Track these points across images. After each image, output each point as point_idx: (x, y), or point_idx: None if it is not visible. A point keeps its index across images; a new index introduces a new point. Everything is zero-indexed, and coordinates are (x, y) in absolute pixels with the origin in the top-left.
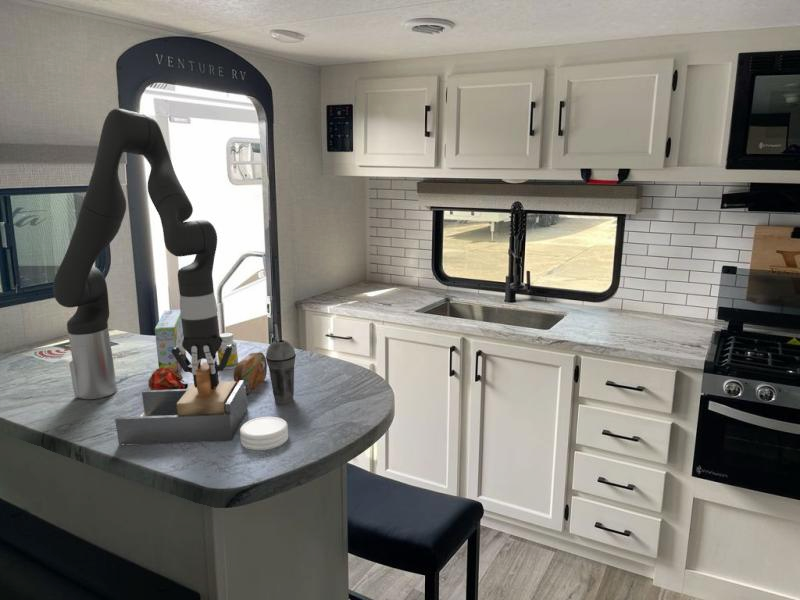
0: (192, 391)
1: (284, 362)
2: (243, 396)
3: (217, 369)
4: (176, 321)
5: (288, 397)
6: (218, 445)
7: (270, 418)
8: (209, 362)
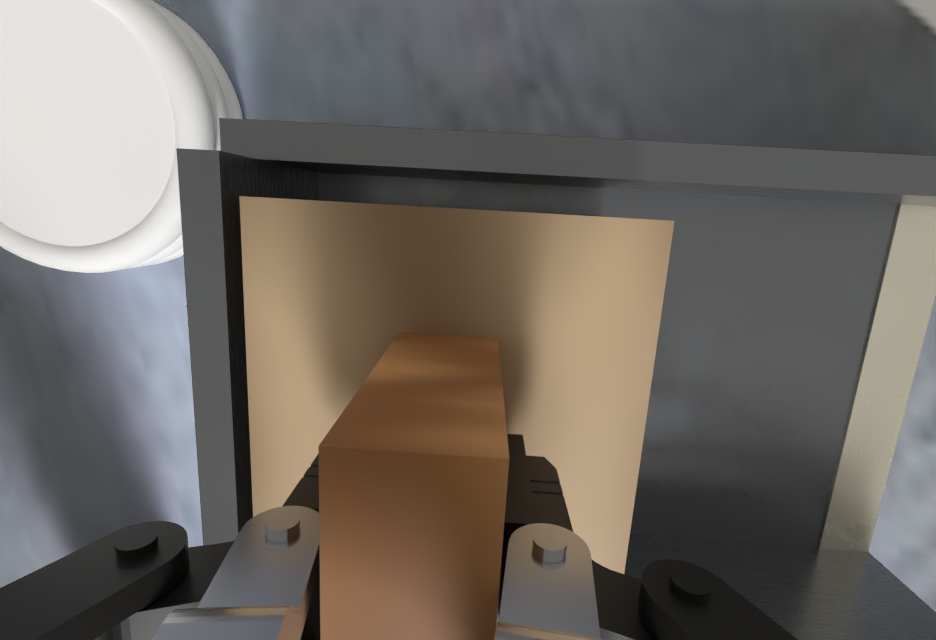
0: (579, 480)
1: None
2: None
3: (217, 565)
4: None
5: None
6: (364, 98)
7: (45, 238)
8: (230, 627)
